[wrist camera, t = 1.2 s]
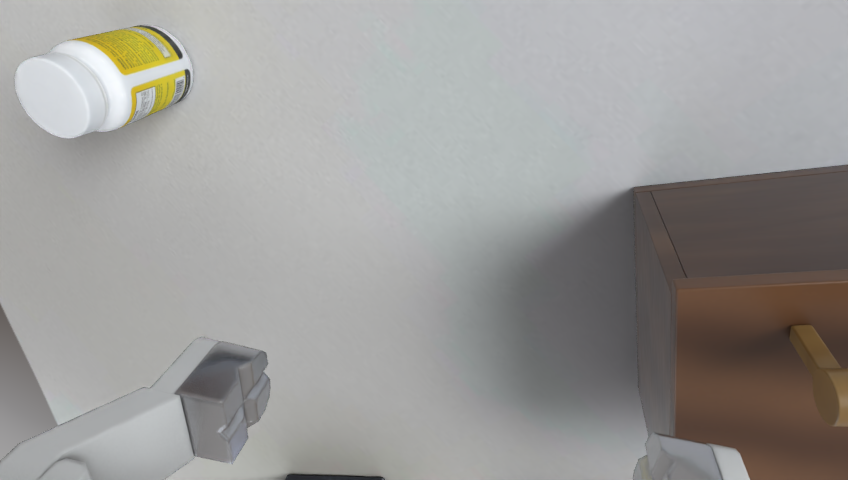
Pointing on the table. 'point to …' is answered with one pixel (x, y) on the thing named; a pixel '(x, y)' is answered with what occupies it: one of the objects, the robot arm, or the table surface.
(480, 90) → the table surface
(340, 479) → the small box
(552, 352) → the table surface
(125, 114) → the supplement bottle
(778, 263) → the brown wooden open box
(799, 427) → the lid
